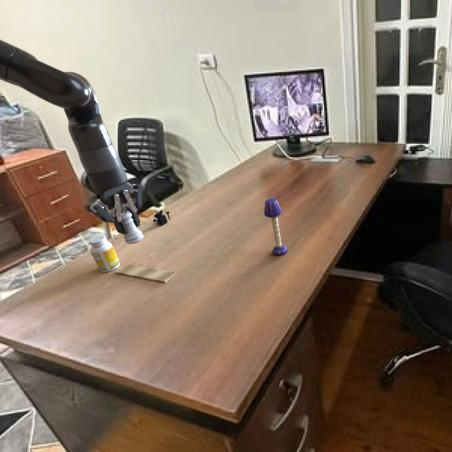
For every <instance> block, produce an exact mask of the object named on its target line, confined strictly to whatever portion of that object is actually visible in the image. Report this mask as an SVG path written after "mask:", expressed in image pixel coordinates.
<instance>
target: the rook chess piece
mask: <svg viewBox="0 0 452 452" xmlns="http://www.w3.org/2000/svg"><path fill="white" fill-rule="evenodd" d="M120 213H121V218H122V220H123V221H124V223H125V226H126V228H127V230H128V233H127V234H126V235H125V234H123V235H124V236H123V239H124V243H126V244H128V245H132V244H137V243H139V242H141V241H142V240H143V239H144V234H143V232H142V231H141V230H140V229H139V228H138V227H136V226H135V224H134V223H133V219H132V218H131V216H132V214H131V213H130V212H129V211H128V210H122V211H121V212H120Z"/></svg>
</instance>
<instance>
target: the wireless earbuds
mask: <svg viewBox="0 0 452 452" xmlns="http://www.w3.org/2000/svg"><path fill="white" fill-rule="evenodd" d="M169 214H170V211H168V210H167V211H165V214H164V210H162V209H160V210H159V212H156V213H155V214H154V215H153V217H154V218H153V219H152V223H156V225H157V227H160V226H164V225H166V224H167V223H168V220H169V221H170V220H171V217H170V215H169ZM166 215H167V216H166ZM167 218H168V219H167Z"/></svg>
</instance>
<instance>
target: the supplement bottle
mask: <svg viewBox="0 0 452 452" xmlns="http://www.w3.org/2000/svg"><path fill="white" fill-rule="evenodd" d="M88 244H89V245H90V248H89V249H90V250H89V253H90V254H91V256H92V258H93V260H94V262H95V264H96V266H97V268H98V270H99V272H101V273H108V272H109V273H110V272H112V271H114V270H116V269H118V268H119V267H120V266H121V261H120V259H119V257H118V255H117V253H116V250H115V248H114V246H113V244H112V242H110V241H108V239H107V238H106V236H105V235H97V236H94V237H92V238H91V239H88Z"/></svg>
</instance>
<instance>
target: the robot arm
mask: <svg viewBox="0 0 452 452" xmlns="http://www.w3.org/2000/svg"><path fill="white" fill-rule="evenodd" d="M0 81H3V82H5V83H8V84H10V85H13V86H16V87H19V88H21V89H23V90H24V91H26V92H28V93H30V94H31V95H33V96H35V97H37V98H39V99H40V100H43V101H45V102H47V103H49V104H51V105H53V106H55V107H58V108H62V109H63V111H64V114H65V116H66V118H67V123H68V124H67V130H68V133H69V135H70V136H69V137H70V138H71V141H72V142H73V145H74V147H75V149H76V151H77V154H78V158H79V161H80V163H81V166H82V168H83V170H84V172H85V174H86V176H87V178H88V181H89V183H90V185H91V188H92V189H93V190H94V191H95V195H96V196H95V198H96V199H95V201H94V202H93V203H90V204H88V206H87V208H88V210H90V211H91V212H92V213H93V214H94V215H96V217H97V218H98V219H99V220H101V221H102V222H103V223H107V224H113V225H114V228H115V230H116V232H117V233H118V234H119V235H124V234H125V235H126V234H127V233H128V230H127V228H126V226H125V223H124V221H123V220H122V218H121V213H122V207H123V208H124V209H125V210H124V211H126V210H128V211H129V212H130V213H131V214H132V216H131V218H132V219H133V223H134V224H135V226H136V228H139V227H140V226H141V219H140V217H139V215H138V210H139V209H141V208H142V206H143V199H142V196H143V193H142V185H141V184H139V183H129V181H128V175H127V174H126V171H125V168H124V165H123V163H122V160H121V158H120V156H119V153H118V151H117V149H116V147H115V146H114V143H113V141H112V138H111V137H110V133H109V132H108V129H107V127H106V124H105V123H104V121H103V117H102V112H101V110H100V106H99V102H98V99H97V96H96V93H95V91H94V88H93V86H92V84H91V83H90V81H89V80H88V79H87V78H86V77H85V76H83V75H82V74H80V73H77V72H75V71H63V70H60V69H58V68H56V67H54V66H52V65H49V64H47V63H45V62H43V61H41V60H39V59H38V58H37V57H36V56H34V55H33V54H32V53H29V52H28V51H26V50H24V49H22V48H19V47H17V46H15V45H13V44H11V43H9V42H7V41H4V40H2V39H0ZM104 205H105V206H104ZM121 206H122V207H121ZM105 209H106V210H105ZM120 212H121V213H120Z"/></svg>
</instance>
